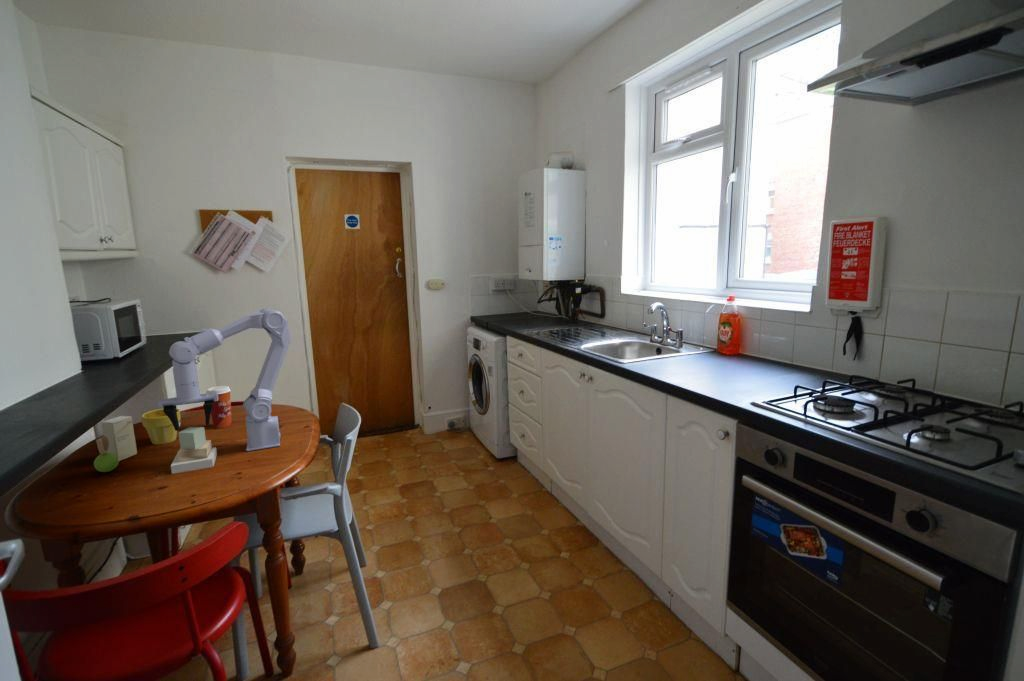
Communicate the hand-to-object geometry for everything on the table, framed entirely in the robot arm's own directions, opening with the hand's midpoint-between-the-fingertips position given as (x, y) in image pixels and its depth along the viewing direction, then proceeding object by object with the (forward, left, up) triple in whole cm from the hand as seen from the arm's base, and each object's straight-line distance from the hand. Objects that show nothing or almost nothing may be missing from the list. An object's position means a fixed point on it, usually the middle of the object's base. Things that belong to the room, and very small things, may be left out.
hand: (192, 427), depth 144 cm
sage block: (0, +2, -5) cm, 5 cm away
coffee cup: (+11, -38, -11) cm, 41 cm away
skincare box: (+21, -13, -11) cm, 27 cm away
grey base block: (0, +2, -11) cm, 11 cm away
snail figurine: (+22, -2, -11) cm, 25 cm away
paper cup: (-4, -31, -11) cm, 33 cm away
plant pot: (+12, -23, -11) cm, 28 cm away
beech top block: (0, +2, -8) cm, 8 cm away
